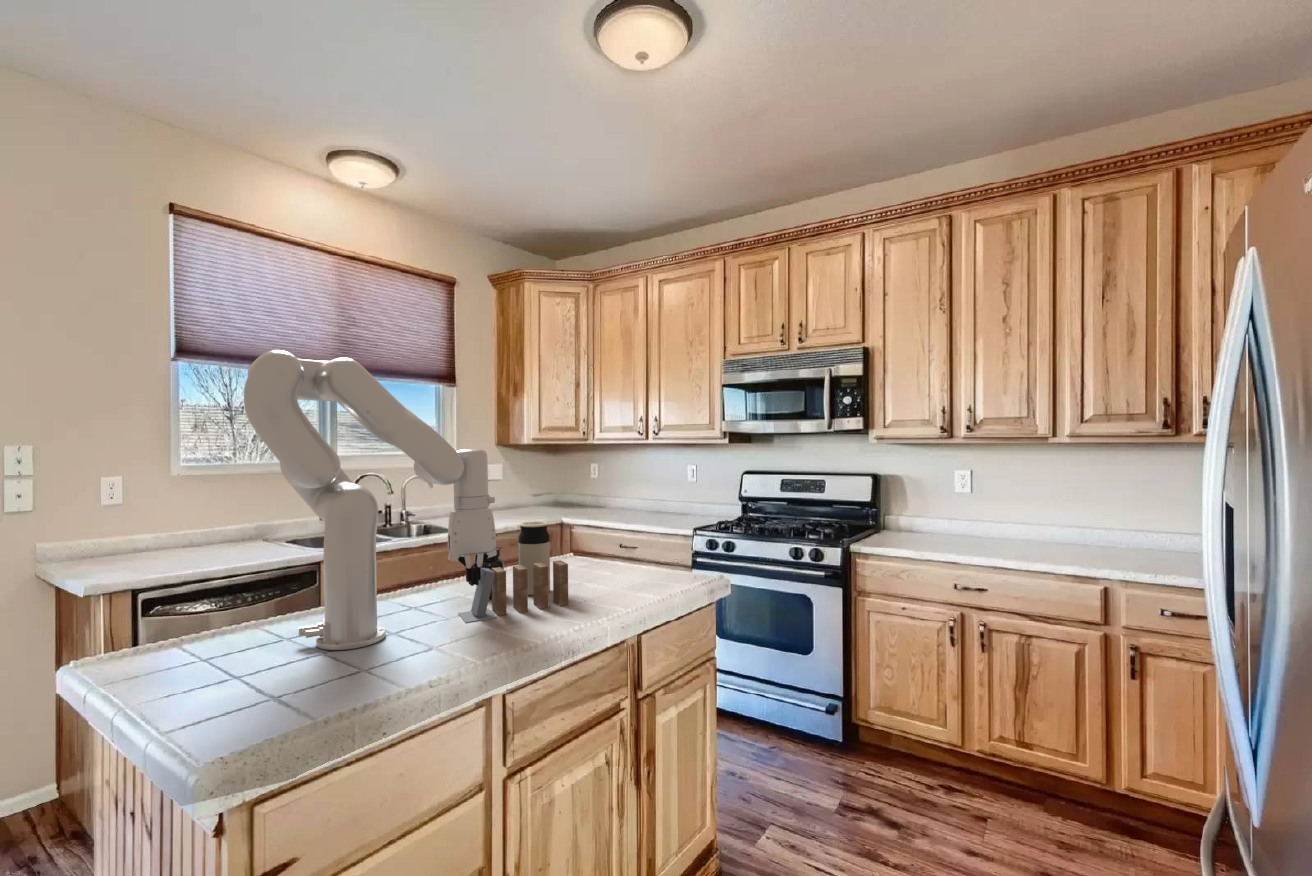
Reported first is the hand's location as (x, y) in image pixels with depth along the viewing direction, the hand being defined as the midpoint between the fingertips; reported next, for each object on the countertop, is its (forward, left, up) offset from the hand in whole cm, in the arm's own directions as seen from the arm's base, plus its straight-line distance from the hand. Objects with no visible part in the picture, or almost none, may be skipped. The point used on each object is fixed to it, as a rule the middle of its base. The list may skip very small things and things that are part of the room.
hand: (473, 584), depth 142 cm
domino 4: (+16, 0, -7) cm, 17 cm away
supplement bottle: (+8, +16, -8) cm, 19 cm away
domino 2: (+6, 0, -7) cm, 9 cm away
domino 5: (+21, 0, -7) cm, 22 cm away
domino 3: (+11, 0, -7) cm, 13 cm away
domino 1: (+1, 0, -7) cm, 7 cm away
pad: (+1, 0, -7) cm, 7 cm away
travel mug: (+19, +14, -8) cm, 25 cm away
